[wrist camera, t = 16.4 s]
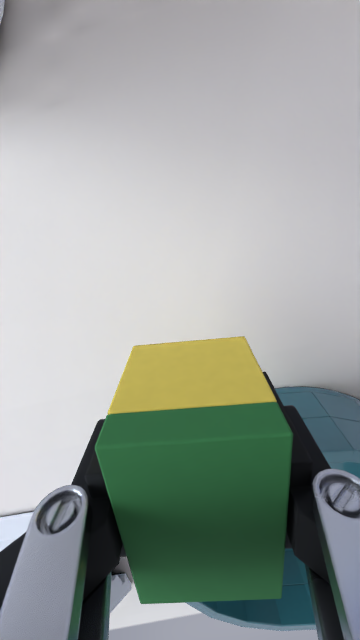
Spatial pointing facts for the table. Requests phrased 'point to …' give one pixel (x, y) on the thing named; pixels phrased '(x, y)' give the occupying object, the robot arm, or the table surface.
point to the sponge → (198, 472)
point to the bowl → (295, 605)
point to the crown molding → (12, 527)
